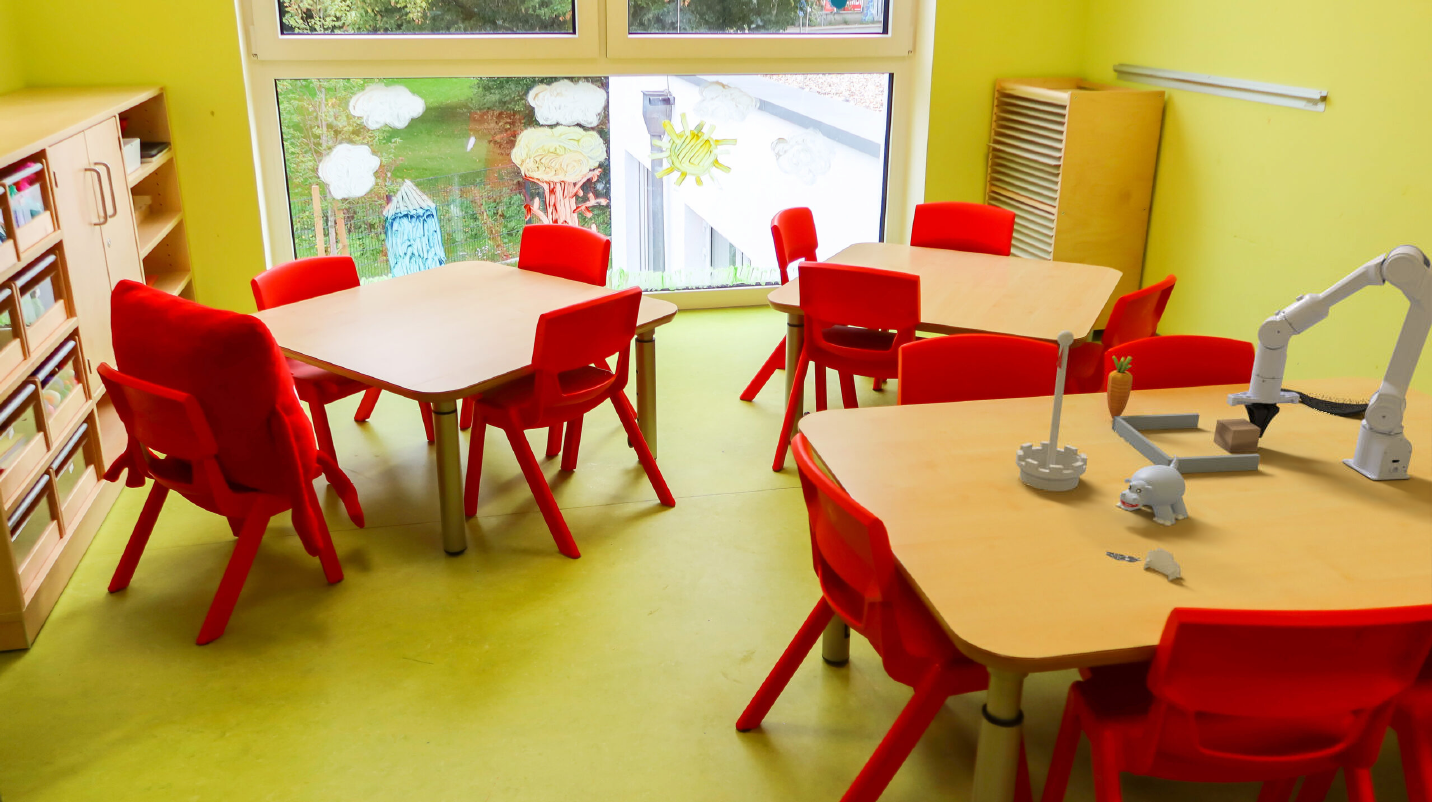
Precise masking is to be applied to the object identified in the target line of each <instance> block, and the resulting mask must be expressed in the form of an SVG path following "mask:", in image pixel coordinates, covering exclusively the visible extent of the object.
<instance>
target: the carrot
mask: <svg viewBox="0 0 1432 802" xmlns="http://www.w3.org/2000/svg"><path fill="white" fill-rule="evenodd" d="M1111 358H1112V360H1113V361H1114V364H1115V367H1116V370H1113V371H1111V372H1110V373H1109V375H1108V377H1107V378H1108V379H1107V389H1106V390H1107V391H1106V396H1107V397H1106V399H1107V407H1108V410H1109V411H1108V412H1109V415H1110V416H1111V419H1112V420H1113V417H1114V416H1122V414H1123V413H1124V411H1125V409H1126V407H1127V403H1128V401H1129V398H1130V395H1131V390H1132V385H1133V380H1134V379H1133V375H1132V373H1131V372H1129V371H1127V370H1129V369H1131V367H1132V365H1130V363H1131V362H1132V359H1133V357H1132V356H1127V358H1126V357H1124V356H1122V357H1121V359H1120V361H1119V360H1118V359H1117V357H1116V356H1115V355H1113V356H1112V357H1111Z"/></svg>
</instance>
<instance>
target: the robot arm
mask: <svg viewBox="0 0 1432 802" xmlns="http://www.w3.org/2000/svg"><path fill="white" fill-rule="evenodd" d="M1386 255H1387V256H1386ZM1385 257H1386V258H1385ZM1386 282H1388V283H1389V284H1390V285H1392V287H1394V288H1396V289H1398V290H1400V292H1402V294H1403V295H1404V297H1405V298H1406V299H1407V301H1408V302H1409V307H1408V309H1407V313H1406V315H1405V318H1404V321H1403V323H1402V325H1401V329H1400V331H1399V333H1398V337H1397V340H1396V342H1395V345H1394V349H1393V351H1392V353H1391V354H1392V355H1391V357H1390V359H1389V361H1388V364H1387V367H1386V371H1385V374H1384V375H1383V379H1382V381H1381V384H1380V387H1379V388H1378V389H1377V390H1376V391H1374V392H1373V393H1372V395H1371V396H1370V398H1369V400H1368V404H1369V406H1368V408H1367V409H1366V412H1364V419H1362V420H1361V422H1360V427H1359V432H1358V437H1357V441H1356V445H1355V449H1354V454H1353V458H1343V459H1342V461H1341V462H1342V463H1344V464H1346V465H1347V466H1349V467H1351V468H1352V469H1353V470H1355V471H1357V472H1358V473H1360V474H1362V475H1363V476H1365V477H1367V478H1368V479H1369V480H1372V481H1380V480H1381V481H1383V480H1384V481H1385V480H1403V479H1406V480H1407V479H1410V478H1411V475H1409V474H1407V473H1408V469H1409V465H1410V463H1411V457H1412V452H1413V445H1412V443H1411V442H1410V441H1409V439H1408V438H1406V436H1405V434H1404V429H1405V426H1404V425H1403V424H1402V423H1403V421H1404V413H1405V410H1407V400H1406V395H1407V392H1408V389H1409V386H1410V385H1411V384H1410V383H1411V381H1412V378H1413V375H1414V373H1415V370H1416V368H1417V365H1418V362H1419V360H1420V356H1421V354H1422V351H1423V348H1424V346H1425V344H1426V341H1427V338H1428V335H1429V332H1430V329H1431V328H1432V261H1431V260H1430V258H1429V257H1428V256H1427V255H1426V254H1425V253H1424V252H1423V250H1421V249H1420V248H1419V247H1418V246H1415V245H1413V244H1400V245H1398V246H1396V247H1394V248H1393V249H1391V250H1390V251H1389V253H1388V254H1387V252H1384V253H1382V254H1381V255H1378V256H1377V257H1374V258H1372V259H1371V260H1368V261H1367V262H1366V263H1364V264H1362V265H1361V266H1359V267H1358V268H1357V269H1355V270H1353V271H1351V273H1349V274H1348V275H1346V276H1345V277H1343V278H1342V279H1341V280H1338V281H1337V282H1336V283H1335V284H1332V285H1331V286H1330V287H1329V288H1327V289H1326V290H1324V291H1323V292H1321V293H1312V292H1309V293H1307V294H1305V295H1304V294H1303V293H1301V294H1300V295H1298V296H1297V297H1296V298H1295V300H1296V301H1294V302H1293V303H1291V304H1290V305H1288V306H1287V307H1285V308H1284V309H1282V310H1281V309H1278V310H1275V311H1274V315H1271V316H1269V317H1268V318H1266V319H1265V320H1264V321H1263V322H1262V324H1261V326H1259V329H1258V331H1257V339H1258V343H1257V350H1256V351H1255V357H1254V361H1253V367H1252V371H1251V379H1250V382H1249V389H1248V391H1242V392H1237V393H1232V394H1231V393H1229V394H1227V398H1226V404H1227V405H1229V406H1231V407H1237V406H1241V405H1244V408H1245V410H1246V413H1247V416H1248V419H1249V420H1248V421H1249V422H1251V423H1252V424H1254V425H1255V426H1257V427H1259V428H1260V429H1261V430H1260V436H1259V439H1262V438H1263V436H1264V434H1265V431H1266V430H1267V428H1268V426H1269V425H1270V423H1271V421H1272V420H1274V418H1275V417H1276V416H1277V415H1279V413H1280V410H1281V408H1280V407H1279V406H1278V405H1277V404H1293V405H1298V404H1299V401H1300V398H1299V397H1300V395H1298V394H1297V393H1295V392H1280V391H1281V388H1282V384H1283V380H1284V374H1285V370H1286V364H1287V358H1288V353H1287V351H1288V347H1289V342H1290V339H1291V338H1292V337H1293V336H1298V335H1300V334H1302V333H1303V332H1305V331H1307V330H1308V329H1310V328H1312V327H1313V326H1315V325H1316V324H1318V323H1320V322H1321V321H1323V320H1325V319H1326V318H1328V316H1329V314H1330V309H1331V307H1333V306H1334V305H1337V304H1338V303H1340V302H1342V301H1343V300H1345V299H1347V298H1348V297H1350V296H1352V295H1353V294H1355V293H1357V292H1359V291H1361V290H1362V289H1365V288H1366V287H1368V286H1379V287H1380V286H1381V287H1382V286H1385V285H1386Z"/></svg>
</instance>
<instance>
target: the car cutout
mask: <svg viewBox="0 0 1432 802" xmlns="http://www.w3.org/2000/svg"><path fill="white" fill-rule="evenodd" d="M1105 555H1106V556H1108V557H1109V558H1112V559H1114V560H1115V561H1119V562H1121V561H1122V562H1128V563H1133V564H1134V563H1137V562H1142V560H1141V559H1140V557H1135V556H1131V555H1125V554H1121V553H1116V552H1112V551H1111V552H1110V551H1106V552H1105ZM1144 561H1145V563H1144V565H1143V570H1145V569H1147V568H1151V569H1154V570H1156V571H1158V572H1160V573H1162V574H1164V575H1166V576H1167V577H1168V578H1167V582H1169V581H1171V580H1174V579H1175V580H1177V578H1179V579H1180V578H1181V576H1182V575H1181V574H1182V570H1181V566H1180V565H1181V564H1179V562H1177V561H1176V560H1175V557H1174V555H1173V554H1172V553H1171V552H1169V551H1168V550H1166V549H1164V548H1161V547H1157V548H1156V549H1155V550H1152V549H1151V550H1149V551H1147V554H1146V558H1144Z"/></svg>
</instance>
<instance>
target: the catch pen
mask: <svg viewBox="0 0 1432 802" xmlns="http://www.w3.org/2000/svg"><path fill="white" fill-rule="evenodd" d="M1199 419H1200V414H1199V413H1197V412H1187V413H1164V414H1161V413H1160V414H1138V415H1137V414H1135V415H1120V416H1114V417H1113V419H1112V425H1111V430H1112V429H1113V430H1114V431H1113V430H1112V431H1113V432H1115V431H1116V432H1117V433H1118V434H1119V435H1118V434H1117V433H1116V432H1115V433H1116V434H1117V435H1118V436H1120V438H1122V437H1123V438H1124V439H1125V440H1124V439H1123V438H1122V439H1123V440H1124V441H1126V442H1127V443H1128V442H1129V443H1130V444H1129V443H1128V444H1129V445H1131V446H1132V447H1133V448H1134V447H1135V448H1136V451H1138V452H1139V451H1140V452H1141V453H1140V452H1139V453H1140V454H1142V455H1143V456H1144V457H1145V458H1147V459H1148V460H1149V461H1150V462H1152V463H1153V464H1154V465H1165V466H1170V465H1171V464H1172V462H1173V461H1174V459H1175V456H1173V457H1171V456H1170V455H1168V454H1167V453H1166V452H1165V451H1163V450H1162V449H1161V448H1160V447H1158V446H1157V445H1156V444H1154V443H1153V442H1152V441H1150V440H1149V439H1148V438H1147V437H1146V436H1144V435H1143V434H1142V433H1140V431H1143V430H1145V429H1149V430H1169V429H1172V430H1173V429H1195V428H1196V429H1197V428H1198V427H1199ZM1138 429H1139V430H1138ZM1145 431H1146V430H1145ZM1135 448H1134V449H1135ZM1177 457H1178V467H1177V469H1176V470H1177V471H1178V472H1179V473H1180V474H1189V473H1190V474H1191V473H1192V474H1193V473H1195V474H1196V473H1213V472H1214V473H1217V472H1237V471H1238V472H1239V471H1241V472H1242V471H1257V470H1259V469H1258V468H1259V465H1260V460H1261V455H1260V454H1258V453H1252V454H1251V453H1246V454H1242V453H1241V454H1227V455H1223V454H1221V455H1201V456H1200V455H1199V456H1198V455H1197V456H1196V455H1195V456H1177Z"/></svg>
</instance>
